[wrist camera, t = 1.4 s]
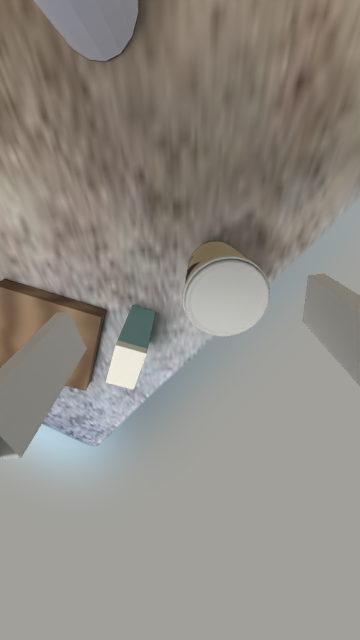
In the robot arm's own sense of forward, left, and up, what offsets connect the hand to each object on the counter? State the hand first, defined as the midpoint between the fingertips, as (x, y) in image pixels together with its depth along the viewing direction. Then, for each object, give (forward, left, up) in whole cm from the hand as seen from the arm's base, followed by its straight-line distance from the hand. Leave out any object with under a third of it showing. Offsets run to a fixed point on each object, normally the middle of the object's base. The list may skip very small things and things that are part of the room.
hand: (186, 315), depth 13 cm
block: (-2, -16, -22) cm, 28 cm away
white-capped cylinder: (+6, -2, -23) cm, 23 cm away
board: (-16, -24, -22) cm, 37 cm away
